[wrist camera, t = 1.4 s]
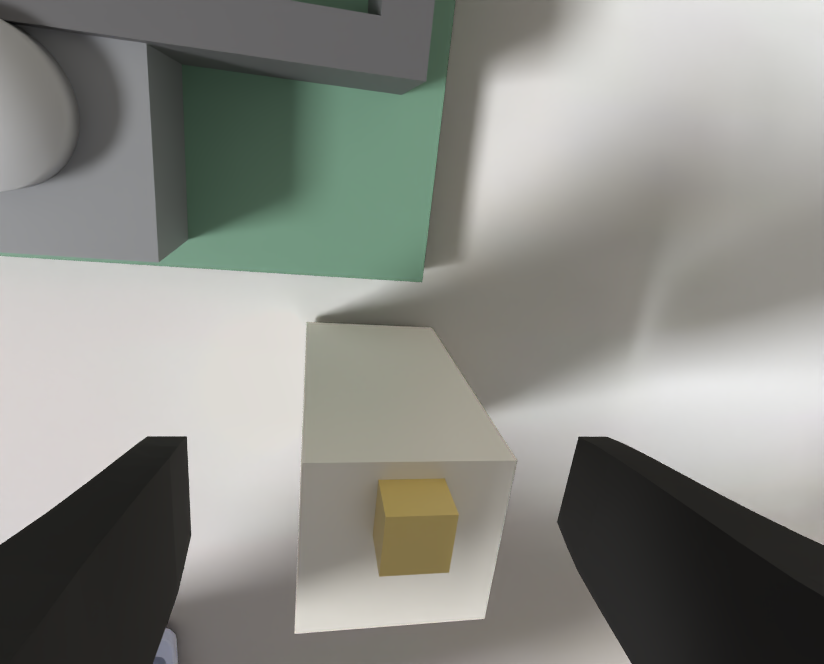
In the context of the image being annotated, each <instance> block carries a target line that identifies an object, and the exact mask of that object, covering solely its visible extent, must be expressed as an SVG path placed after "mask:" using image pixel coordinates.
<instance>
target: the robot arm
mask: <svg viewBox="0 0 824 664" xmlns="http://www.w3.org/2000/svg"><path fill="white" fill-rule="evenodd" d="M557 523H558V525H559V528H560V530H561V533H562V535H563V538H564V540H565V543H566V545H567V548H568V550H569V552H570V555H571V557H572V559H573V561H574V564H575V566H576V568H577V570H578V572H579V574H580V576H581V578H582V579H583V581H584V583H585V585H586V586H587V588H588V590H589V592H590V593H591V595H592V597H593V599H594V600H595V602H596V604H597V605H598V607H599V609H600V611H601V612H602V614H603V616H604V617H605V619H606V621H607V623H608V624H609V626H610V628H611V629H612V631H613V633H614V634H615V636H616V638H617V639H618V641H619V643H620V645H621V646H622V648H623V650H624V651H625V653H626V655H627V656H628V658H629V660H630V662H631V663H632V664H824V545H822V544H820V543H817V542H815V541H813V540H811V539H809V538H807V537H804V536H802V535H800V534H798V533H796V532H794V531H792V530H790V529H788V528H786V527H784V526H781V525H779V524H777V523H775V522H773V521H771V520H769V519H767V518H765V517H763V516H761V515H759V514H757V513H755V512H753V511H751V510H749V509H747V508H745V507H743V506H741V505H739V504H737V503H735V502H734V501H732V500H730V499H728V498H726V497H724V496H722V495H720V494H718V493H716V492H714V491H713V490H711V489H709V488H707V487H705V486H703V485H701V484H699V483H698V482H696V481H694V480H692V479H690V478H688V477H686V476H685V475H683V474H681V473H679V472H677V471H675V470H673V469H672V468H670V467H668V466H666V465H664V464H662V463H660V462H659V461H657V460H655V459H653V458H651V457H649V456H647V455H645V454H643V453H641V452H639V451H637V450H635V449H633V448H631V447H629V446H627V445H625V444H623V443H621V442H618V441H616V440H614V439H611V438H609V437H578V441H577V445H576V449H575V453H574V457H573V461H572V465H571V469H570V473H569V477H568V481H567V485H566V489H565V493H564V497H563V501H562V505H561V509H560V513H559V517H558V521H557ZM190 538H191V521H190V498H189V476H188V454H187V437H146V438H145V439H143V440H142V441H141V442H139V443H138V444H136V445H135V446H134V447H133V448H131V449H130V450H129V451H127V452H126V453H125V454H123V455H122V456H121V457H120V458H118V459H117V460H116V461H114V462H113V463H112V464H111V465H109V466H108V467H107V468H106V469H104V470H103V471H102V472H100V473H99V474H98V475H96V476H95V477H94V478H93V479H91V480H90V481H89V482H87V483H86V484H85V485H83V486H82V487H81V488H79V489H78V490H77V491H75V492H74V493H73V494H71V495H70V496H69V497H67V498H66V499H65V500H63V501H62V502H61V503H59V504H58V505H57V506H55V507H54V508H53V509H51V510H50V511H49V512H47V513H46V514H44V515H43V516H41V517H40V518H38V519H37V520H36V521H34V522H33V523H31V524H30V525H28V526H27V527H25V528H24V529H23V530H21V531H20V532H18V533H17V534H15V535H14V536H12V537H11V538H9V539H8V540H7V541H5V542H4V543H2V544H1V545H0V664H178V654H177V638H176V635H175V633H174V632H173V631H171V630H170V629H168V628H166V625H167V623H168V620H169V617H170V614H171V611H172V608H173V606H174V603H175V600H176V597H177V594H178V590H179V586H180V582H181V578H182V573H183V569H184V565H185V560H186V556H187V551H188V547H189V542H190ZM155 656H156V657H155Z"/></svg>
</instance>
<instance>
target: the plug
mask: <svg viewBox="0 0 824 664" xmlns="http://www.w3.org/2000/svg"><path fill="white" fill-rule="evenodd" d="M516 464H517V459H516V458H515V456H514V455H513V453H512V452H511V450H510V448H509V447H508V445H507V444H506V442H505V441H504V439H503V438H502V436H501V434H500V433H499V431H498V430H497V428H496V427H495V425H494V424H493V422H492V420H491V419H490V417H489V416H488V414H487V413H486V411H485V409H484V408H483V406H482V405H481V403H480V402H479V400H478V399H477V397H476V395H475V394H474V392H473V391H472V389H471V388H470V386H469V384H468V383H467V381H466V380H465V378H464V377H463V375H462V374H461V372H460V370H459V369H458V367H457V366H456V364H455V363H454V361H453V360H452V358H451V356H450V355H449V353H448V352H447V350H446V349H445V347H444V345H443V344H442V342H441V341H440V339H439V338H438V336H437V335H436V333H435V331H434V330H433V328H432V327H409V326H386V325H363V324H341V323H318V322H307V328H306V351H305V375H304V398H303V422H302V446H301V473H300V499H299V525H298V552H297V578H296V604H295V631H294V634H300V633H312V632H325V631H338V630H350V629H363V628H375V627H388V626H401V625H413V624H426V623H438V622H451V621H464V620H476V619H484V618H485V614H486V609H487V604H488V599H489V594H490V589H491V585H492V580H493V575H494V570H495V565H496V560H497V556H498V551H499V546H500V541H501V536H502V531H503V527H504V522H505V517H506V512H507V507H508V502H509V498H510V493H511V488H512V483H513V478H514V473H515V469H516Z"/></svg>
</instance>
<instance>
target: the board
mask: <svg viewBox="0 0 824 664" xmlns="http://www.w3.org/2000/svg"><path fill="white" fill-rule="evenodd" d="M455 1H456V0H0V256H10V257H26V258H42V259H58V260H74V261H90V262H106V263H122V264H138V265H154V266H170V267H186V268H202V269H218V270H234V271H250V272H266V273H282V274H298V275H314V276H330V277H346V278H362V279H378V280H394V281H410V282H422V279H423V271H424V262H425V254H426V246H427V237H428V229H429V220H430V212H431V203H432V195H433V186H434V178H435V170H436V161H437V153H438V144H439V136H440V127H441V119H442V110H443V102H444V94H445V85H446V77H447V68H448V60H449V51H450V43H451V34H452V26H453V17H454V9H455Z"/></svg>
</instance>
